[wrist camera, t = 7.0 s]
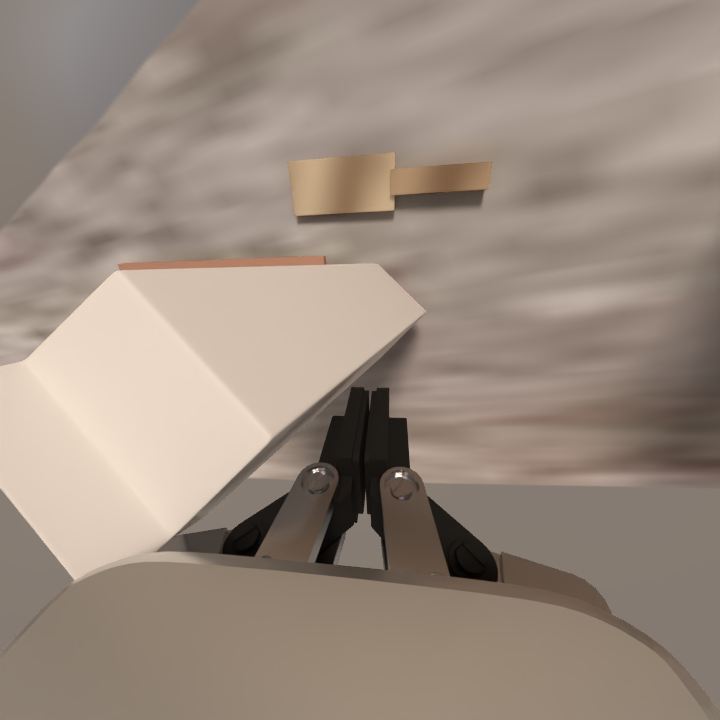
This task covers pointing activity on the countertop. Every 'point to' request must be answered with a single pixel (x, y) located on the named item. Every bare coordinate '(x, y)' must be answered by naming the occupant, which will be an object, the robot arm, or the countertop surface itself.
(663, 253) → the countertop surface
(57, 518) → the milk
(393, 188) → the turner
